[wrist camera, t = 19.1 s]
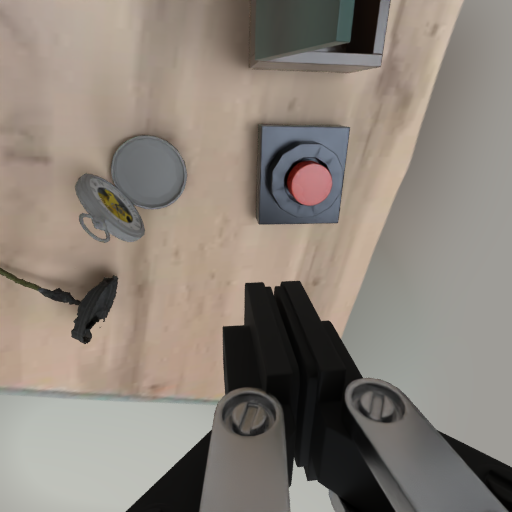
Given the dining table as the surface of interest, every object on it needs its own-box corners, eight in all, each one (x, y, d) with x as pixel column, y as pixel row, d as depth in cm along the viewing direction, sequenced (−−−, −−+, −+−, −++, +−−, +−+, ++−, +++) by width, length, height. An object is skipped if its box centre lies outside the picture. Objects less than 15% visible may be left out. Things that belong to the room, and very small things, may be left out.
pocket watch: (195, 148, 32) (191, 167, 23) (172, 231, 35) (161, 276, 26) (102, 117, 30) (59, 125, 21) (87, 207, 33) (42, 248, 24)
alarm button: (288, 160, 30) (292, 163, 29) (328, 160, 31) (334, 163, 29) (285, 200, 32) (289, 206, 30) (324, 200, 32) (330, 205, 31)
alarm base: (258, 124, 32) (264, 126, 29) (341, 125, 33) (358, 128, 30) (255, 217, 36) (261, 230, 32) (331, 216, 37) (344, 229, 33)
